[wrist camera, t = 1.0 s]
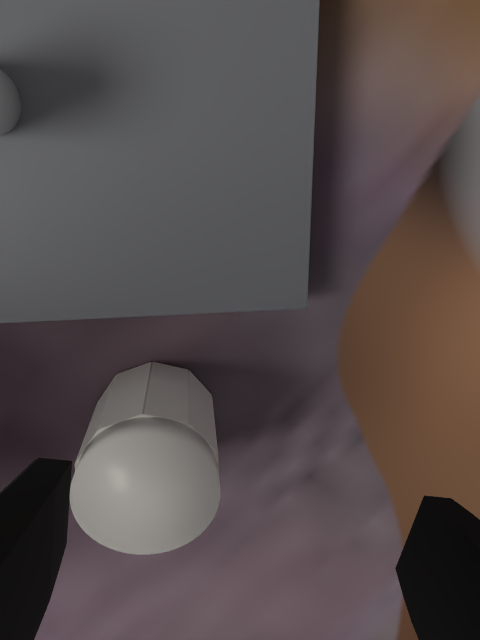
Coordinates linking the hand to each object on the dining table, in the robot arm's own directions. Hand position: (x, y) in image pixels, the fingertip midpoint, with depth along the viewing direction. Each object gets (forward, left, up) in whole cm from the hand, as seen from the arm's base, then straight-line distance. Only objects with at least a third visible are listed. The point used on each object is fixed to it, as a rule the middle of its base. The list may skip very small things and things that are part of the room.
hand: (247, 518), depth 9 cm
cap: (-3, -3, -10) cm, 11 cm away
